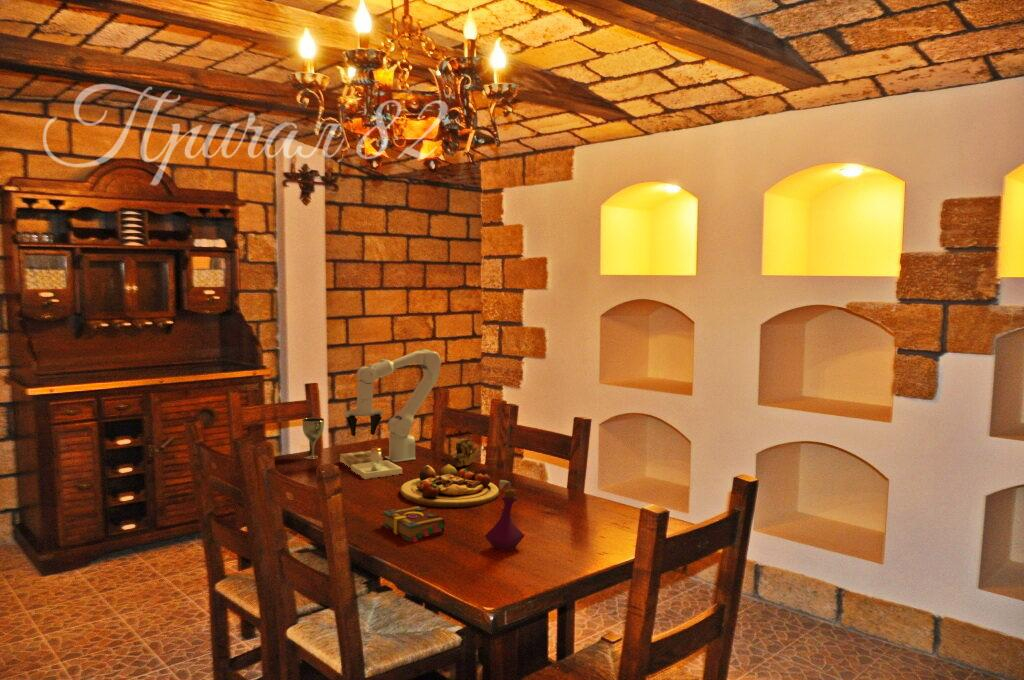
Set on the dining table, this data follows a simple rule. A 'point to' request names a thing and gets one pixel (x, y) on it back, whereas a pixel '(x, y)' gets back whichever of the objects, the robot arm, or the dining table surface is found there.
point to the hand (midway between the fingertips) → (362, 435)
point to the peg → (376, 459)
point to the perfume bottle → (505, 524)
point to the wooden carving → (464, 452)
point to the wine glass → (313, 431)
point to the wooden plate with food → (449, 488)
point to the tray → (386, 470)
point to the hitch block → (356, 458)
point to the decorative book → (413, 523)
